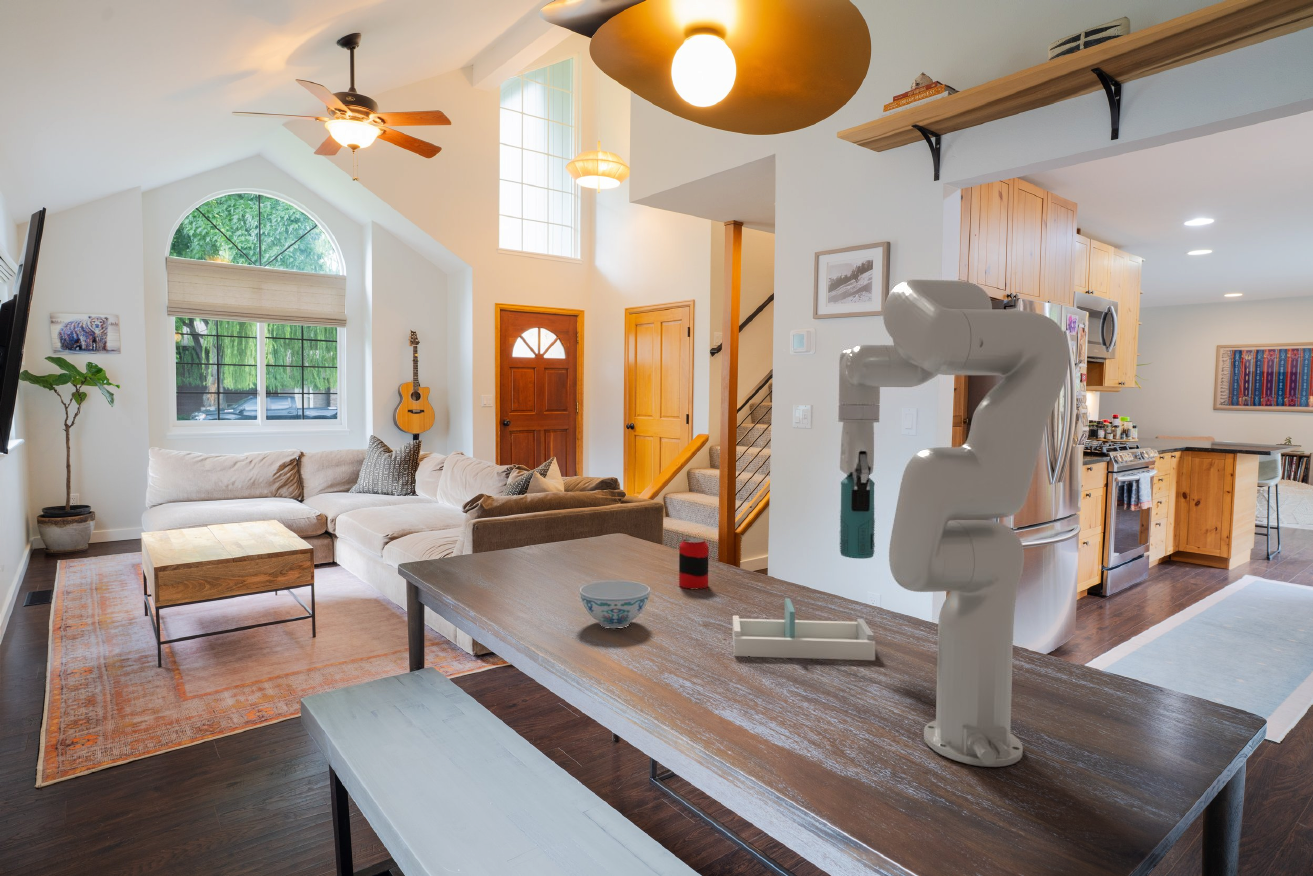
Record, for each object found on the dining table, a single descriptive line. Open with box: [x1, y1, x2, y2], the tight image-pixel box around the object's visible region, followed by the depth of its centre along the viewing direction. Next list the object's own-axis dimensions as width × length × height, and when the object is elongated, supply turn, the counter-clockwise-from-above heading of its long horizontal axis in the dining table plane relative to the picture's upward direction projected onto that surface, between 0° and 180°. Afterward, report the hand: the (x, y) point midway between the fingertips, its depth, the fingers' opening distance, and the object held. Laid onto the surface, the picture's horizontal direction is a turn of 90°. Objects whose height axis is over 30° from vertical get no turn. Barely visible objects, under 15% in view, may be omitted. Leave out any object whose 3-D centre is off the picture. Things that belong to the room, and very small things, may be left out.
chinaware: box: [579, 580, 651, 628], centre depth 154 cm, size 15×15×8 cm
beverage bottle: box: [839, 461, 876, 559], centre depth 137 cm, size 6×7×20 cm
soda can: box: [678, 537, 709, 589], centre depth 187 cm, size 8×8×12 cm
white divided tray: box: [731, 615, 876, 661], centre depth 140 cm, size 12×26×4 cm, turn 86°
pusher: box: [784, 597, 796, 638], centre depth 140 cm, size 9×1×8 cm, turn 176°
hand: (857, 507), depth 137 cm, fingers closed on beverage bottle, 6 cm apart
